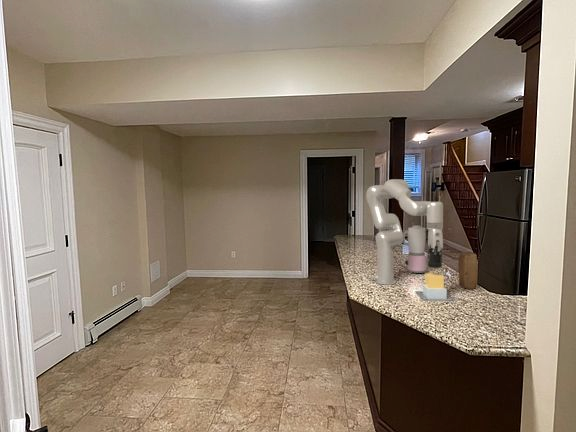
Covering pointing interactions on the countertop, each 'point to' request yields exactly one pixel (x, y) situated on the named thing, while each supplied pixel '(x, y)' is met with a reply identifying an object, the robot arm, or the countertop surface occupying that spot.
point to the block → (467, 270)
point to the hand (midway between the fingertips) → (434, 260)
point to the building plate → (424, 298)
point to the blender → (416, 249)
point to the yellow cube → (434, 280)
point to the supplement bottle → (430, 259)
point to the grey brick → (434, 292)
